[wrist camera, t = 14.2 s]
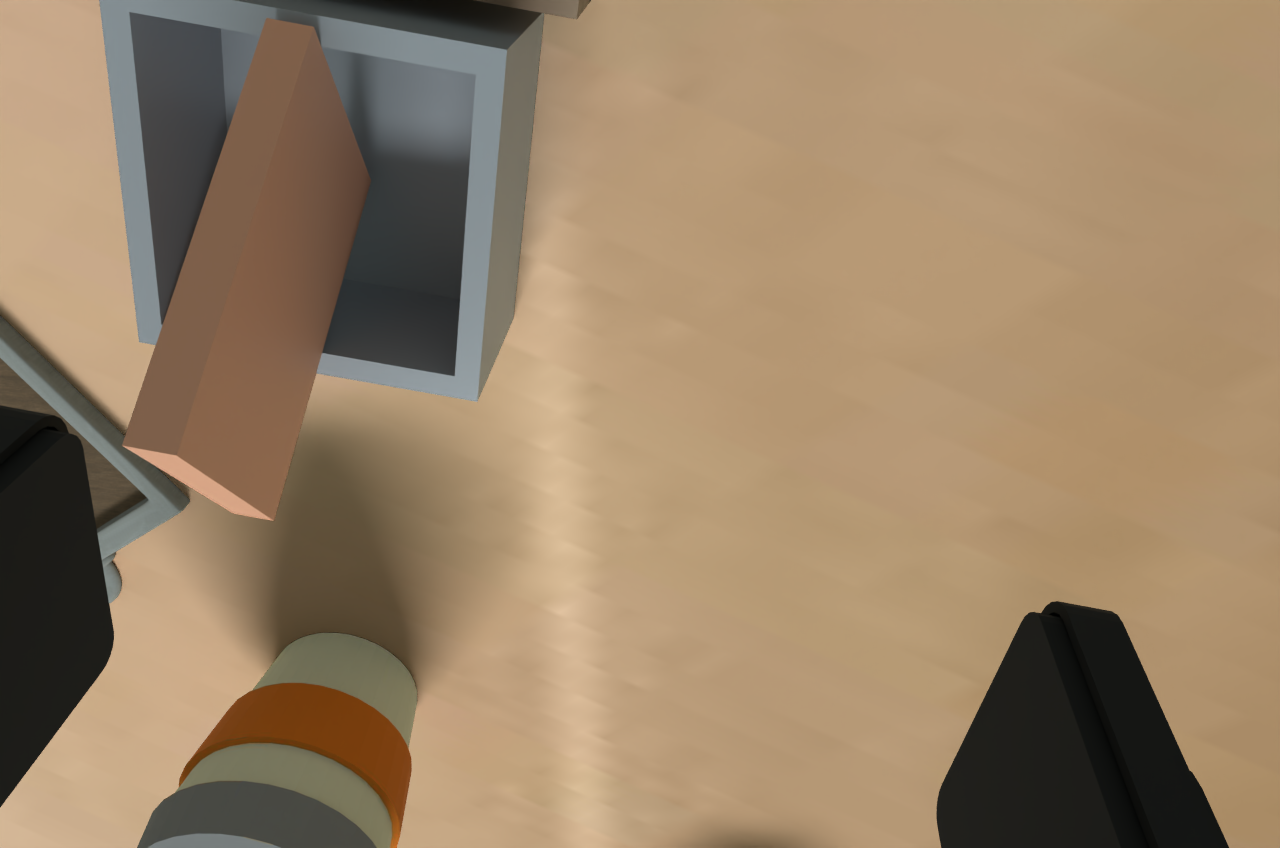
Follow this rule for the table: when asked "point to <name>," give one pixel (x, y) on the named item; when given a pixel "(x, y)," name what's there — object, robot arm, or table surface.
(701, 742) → the table surface
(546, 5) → the brown wooden crate
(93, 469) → the grey flat rectangular tray
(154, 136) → the bin
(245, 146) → the block
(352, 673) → the reusable coffee cup
